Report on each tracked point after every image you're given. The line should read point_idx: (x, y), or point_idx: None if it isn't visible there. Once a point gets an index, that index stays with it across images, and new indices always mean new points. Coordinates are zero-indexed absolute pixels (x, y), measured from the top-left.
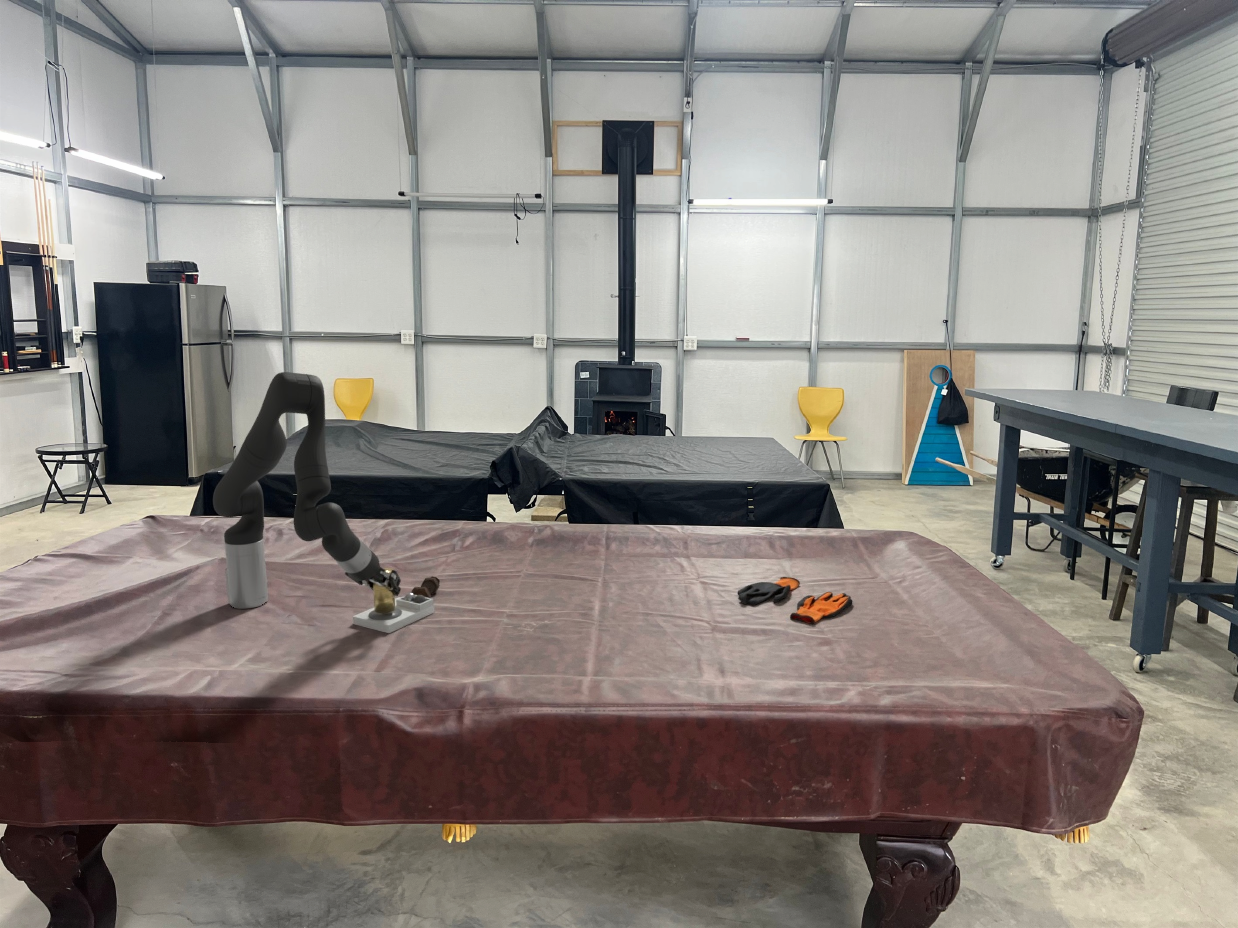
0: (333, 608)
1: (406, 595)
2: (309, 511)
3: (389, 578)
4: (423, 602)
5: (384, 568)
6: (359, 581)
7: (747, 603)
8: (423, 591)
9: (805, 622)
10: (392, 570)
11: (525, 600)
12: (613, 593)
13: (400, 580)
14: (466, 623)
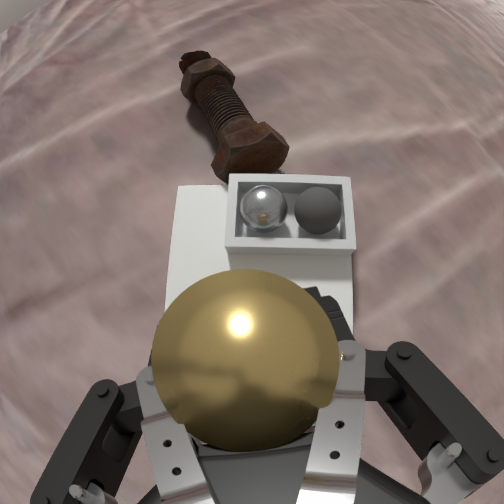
0: (38, 320)
1: (261, 217)
2: None
3: (466, 496)
4: (347, 221)
5: (203, 298)
6: (132, 448)
7: None
8: (271, 144)
9: None
10: (494, 474)
11: (439, 72)
12: (487, 38)
13: (421, 356)
14: (469, 229)
